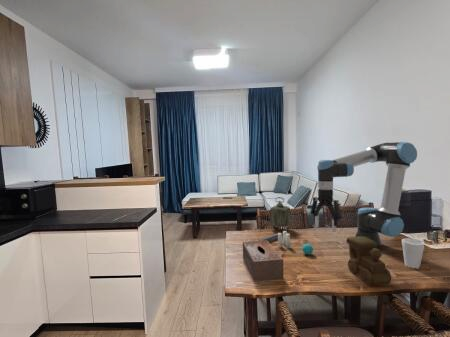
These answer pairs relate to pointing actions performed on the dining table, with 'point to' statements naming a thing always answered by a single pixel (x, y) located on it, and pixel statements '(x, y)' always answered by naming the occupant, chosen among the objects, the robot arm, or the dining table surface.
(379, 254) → the wooden toy train
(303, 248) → the ball
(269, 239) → the back wall
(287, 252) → the dining table surface
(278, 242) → the pin
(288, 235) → the front pin
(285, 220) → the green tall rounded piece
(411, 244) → the foam cup
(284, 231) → the pin
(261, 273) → the tissue box cover
